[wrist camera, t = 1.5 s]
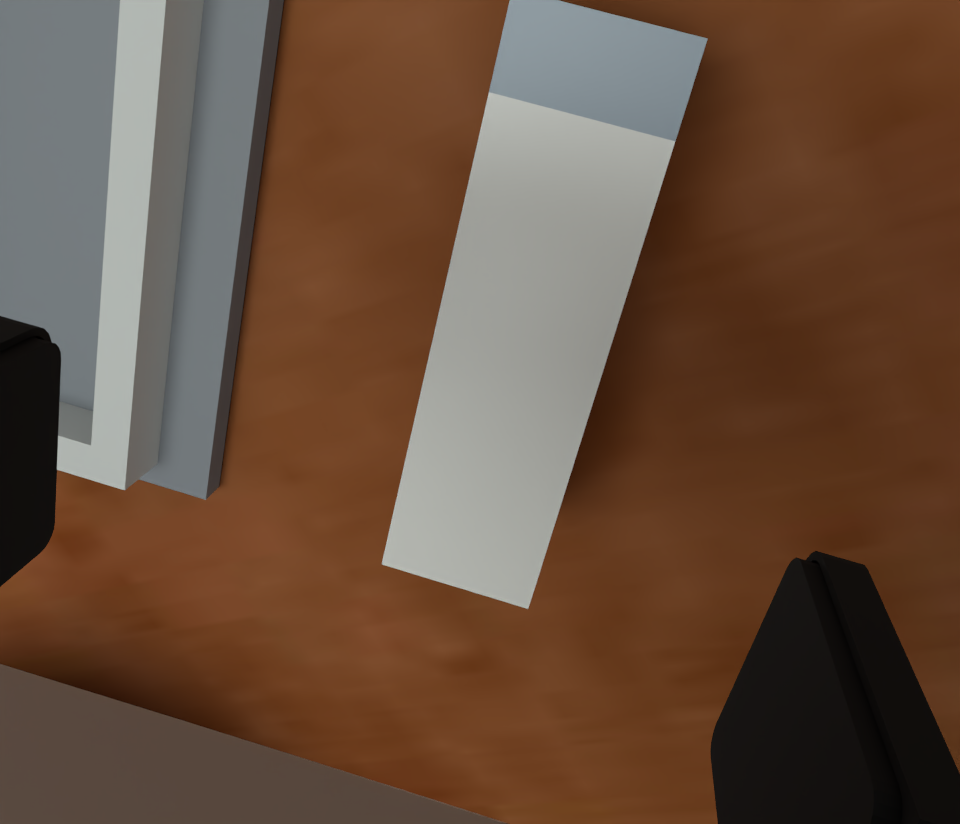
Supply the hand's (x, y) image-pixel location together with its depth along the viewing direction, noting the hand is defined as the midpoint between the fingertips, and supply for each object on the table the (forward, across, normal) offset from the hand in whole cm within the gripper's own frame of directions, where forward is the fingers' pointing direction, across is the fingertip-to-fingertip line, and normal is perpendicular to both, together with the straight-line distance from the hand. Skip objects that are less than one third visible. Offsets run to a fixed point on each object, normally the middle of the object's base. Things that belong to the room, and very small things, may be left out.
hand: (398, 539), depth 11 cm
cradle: (+16, +14, 0) cm, 22 cm away
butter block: (+16, 0, 0) cm, 16 cm away
